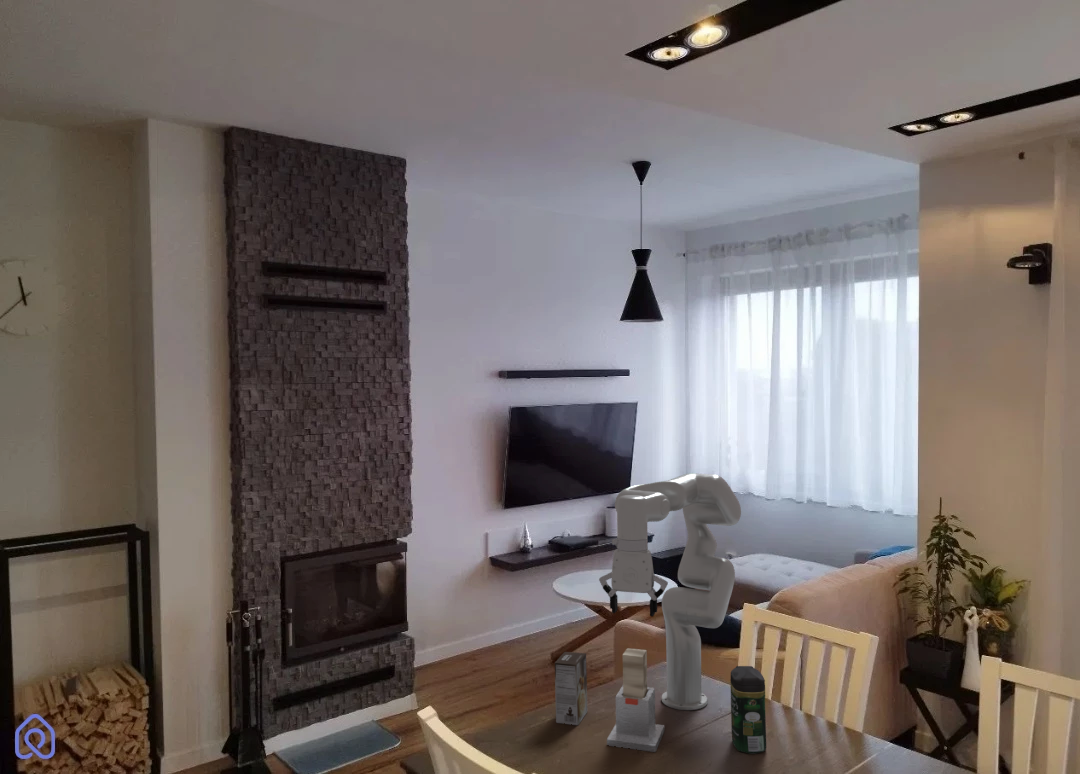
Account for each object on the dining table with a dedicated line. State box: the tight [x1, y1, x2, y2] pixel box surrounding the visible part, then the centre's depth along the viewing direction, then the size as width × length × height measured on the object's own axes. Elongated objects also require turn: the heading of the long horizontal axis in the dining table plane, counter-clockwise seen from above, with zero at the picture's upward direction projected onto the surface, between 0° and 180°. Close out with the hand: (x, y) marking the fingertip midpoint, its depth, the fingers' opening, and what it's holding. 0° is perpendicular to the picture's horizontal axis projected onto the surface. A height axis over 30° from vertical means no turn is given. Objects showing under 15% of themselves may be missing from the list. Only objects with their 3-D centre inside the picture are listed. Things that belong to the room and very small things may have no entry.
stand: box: [606, 685, 665, 753], centre depth 195 cm, size 12×12×12 cm
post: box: [622, 647, 648, 698], centre depth 195 cm, size 5×5×20 cm
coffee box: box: [554, 651, 588, 726], centre depth 208 cm, size 9×6×16 cm
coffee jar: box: [729, 665, 767, 755], centre depth 189 cm, size 10×8×19 cm
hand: (633, 613), depth 194 cm, fingers open, 9 cm apart
